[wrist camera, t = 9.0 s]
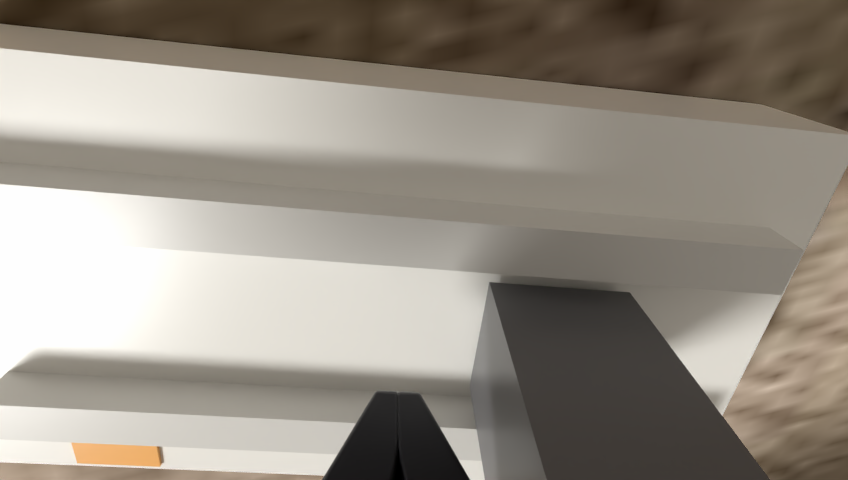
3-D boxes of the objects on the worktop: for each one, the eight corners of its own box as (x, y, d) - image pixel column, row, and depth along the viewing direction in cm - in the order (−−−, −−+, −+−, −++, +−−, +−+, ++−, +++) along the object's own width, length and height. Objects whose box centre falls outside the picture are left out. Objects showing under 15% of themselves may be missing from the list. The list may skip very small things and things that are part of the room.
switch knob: (629, 291, 10) (798, 517, 6) (595, 393, 12) (713, 641, 7) (489, 281, 10) (554, 507, 6) (469, 385, 11) (510, 638, 7)
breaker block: (760, 104, 12) (910, 151, 9) (639, 409, 17) (704, 525, 13) (-28, 20, 11) (-245, 35, 7) (69, 378, 15) (-35, 498, 12)
